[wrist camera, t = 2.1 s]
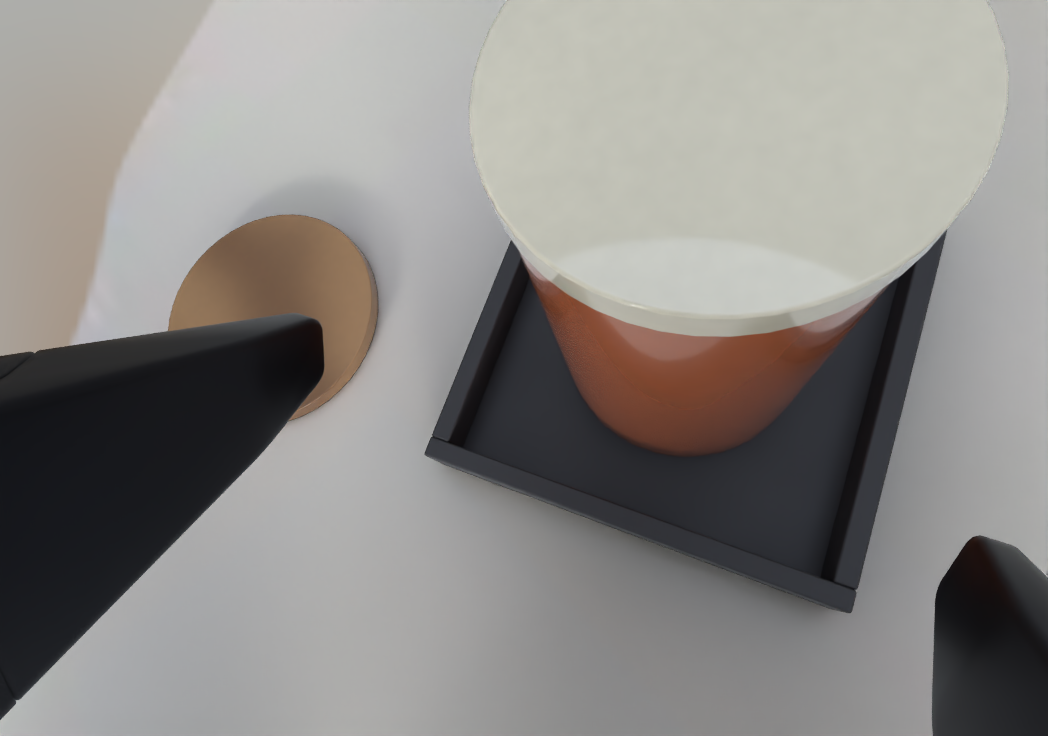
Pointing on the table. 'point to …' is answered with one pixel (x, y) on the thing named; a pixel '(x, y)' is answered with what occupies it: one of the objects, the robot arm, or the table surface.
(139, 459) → the robot arm
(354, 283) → the coaster
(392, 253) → the table surface
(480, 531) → the table surface
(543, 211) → the canister
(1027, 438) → the table surface
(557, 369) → the tray
